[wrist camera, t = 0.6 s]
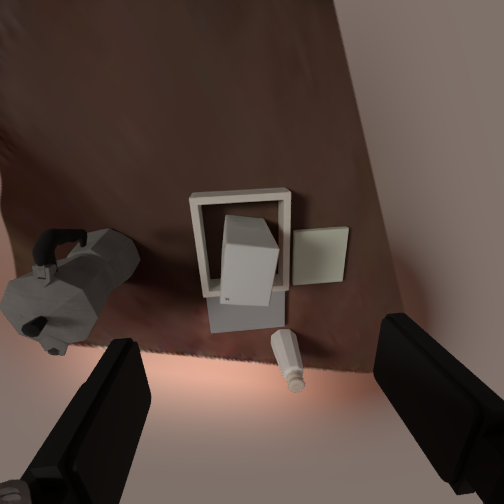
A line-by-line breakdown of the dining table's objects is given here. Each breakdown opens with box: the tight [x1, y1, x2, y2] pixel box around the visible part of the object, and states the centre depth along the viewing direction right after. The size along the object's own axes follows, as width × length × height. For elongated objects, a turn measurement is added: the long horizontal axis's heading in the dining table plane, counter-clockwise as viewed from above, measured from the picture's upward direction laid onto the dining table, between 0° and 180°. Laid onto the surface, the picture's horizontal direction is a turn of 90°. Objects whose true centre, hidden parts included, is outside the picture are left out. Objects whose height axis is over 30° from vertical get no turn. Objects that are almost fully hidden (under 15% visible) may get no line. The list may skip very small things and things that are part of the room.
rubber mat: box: [292, 226, 349, 285], centre depth 43 cm, size 10×9×1 cm
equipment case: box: [189, 187, 291, 333], centre depth 41 cm, size 26×14×4 cm, turn 3°
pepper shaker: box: [271, 329, 305, 392], centre depth 45 cm, size 5×5×11 cm
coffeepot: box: [0, 228, 141, 356], centre depth 31 cm, size 15×9×18 cm, turn 168°
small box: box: [220, 215, 280, 306], centre depth 35 cm, size 8×6×13 cm
